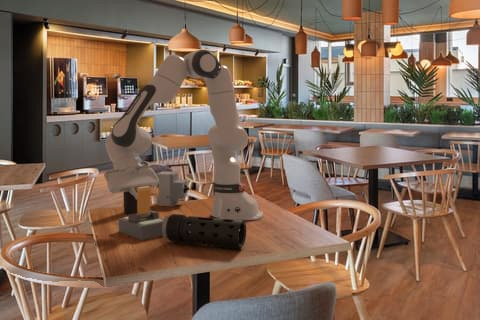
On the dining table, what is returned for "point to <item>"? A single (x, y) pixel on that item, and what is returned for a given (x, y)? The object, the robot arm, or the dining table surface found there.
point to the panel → (141, 226)
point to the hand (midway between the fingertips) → (140, 198)
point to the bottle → (130, 203)
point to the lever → (143, 202)
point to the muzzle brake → (205, 231)
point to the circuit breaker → (170, 189)
